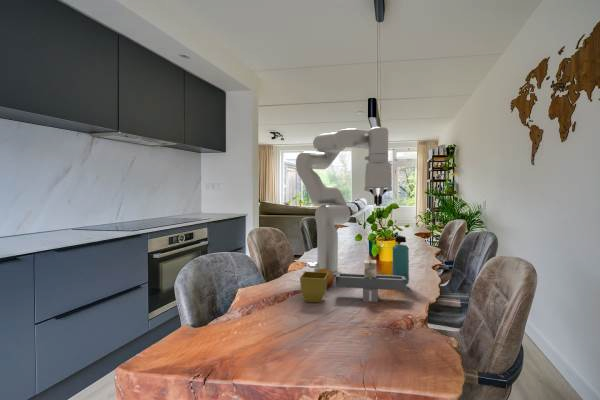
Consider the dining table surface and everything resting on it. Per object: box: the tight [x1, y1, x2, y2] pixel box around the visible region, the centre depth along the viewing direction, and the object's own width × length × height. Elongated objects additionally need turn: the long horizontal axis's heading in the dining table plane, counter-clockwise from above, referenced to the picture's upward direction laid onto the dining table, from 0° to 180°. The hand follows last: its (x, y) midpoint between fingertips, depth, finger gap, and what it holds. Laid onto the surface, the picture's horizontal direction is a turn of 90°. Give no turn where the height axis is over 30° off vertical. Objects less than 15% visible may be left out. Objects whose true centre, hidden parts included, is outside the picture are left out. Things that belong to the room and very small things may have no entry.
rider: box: [363, 259, 377, 278], centre depth 123 cm, size 4×6×7 cm
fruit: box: [316, 269, 335, 288], centre depth 138 cm, size 8×8×8 cm
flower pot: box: [299, 271, 328, 304], centre depth 120 cm, size 9×9×9 cm
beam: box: [335, 272, 407, 303], centre depth 123 cm, size 24×9×8 cm, turn 79°
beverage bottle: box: [391, 235, 410, 286], centre depth 137 cm, size 6×7×20 cm
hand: (377, 205), depth 136 cm, fingers closed
